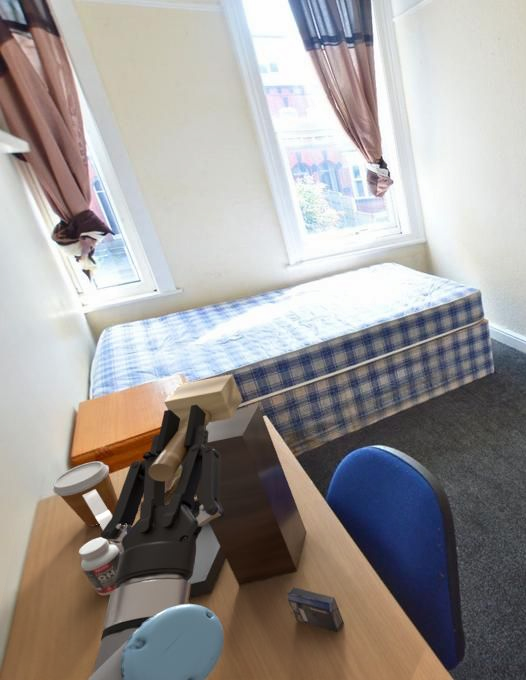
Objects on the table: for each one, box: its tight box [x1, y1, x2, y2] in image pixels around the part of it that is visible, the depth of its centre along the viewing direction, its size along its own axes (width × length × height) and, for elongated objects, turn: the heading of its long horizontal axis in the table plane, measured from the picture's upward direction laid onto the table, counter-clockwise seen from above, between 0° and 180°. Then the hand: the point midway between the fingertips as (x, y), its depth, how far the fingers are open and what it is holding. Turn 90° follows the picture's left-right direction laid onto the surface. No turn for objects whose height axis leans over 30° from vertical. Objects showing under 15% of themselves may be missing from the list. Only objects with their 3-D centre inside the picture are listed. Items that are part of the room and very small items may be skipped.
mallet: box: [148, 373, 243, 481], centre depth 69 cm, size 20×8×5 cm, turn 13°
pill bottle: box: [78, 536, 121, 596], centre depth 86 cm, size 5×5×10 cm
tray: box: [188, 497, 227, 599], centre depth 93 cm, size 26×15×3 cm, turn 13°
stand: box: [181, 404, 307, 587], centre depth 84 cm, size 10×10×30 cm
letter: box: [82, 489, 124, 554], centre depth 96 cm, size 22×2×10 cm, turn 51°
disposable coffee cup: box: [52, 460, 119, 527], centre depth 104 cm, size 10×10×12 cm
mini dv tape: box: [286, 587, 345, 633], centre depth 75 cm, size 8×2×6 cm, turn 72°
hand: (185, 412), depth 68 cm, fingers closed on mallet, 3 cm apart
